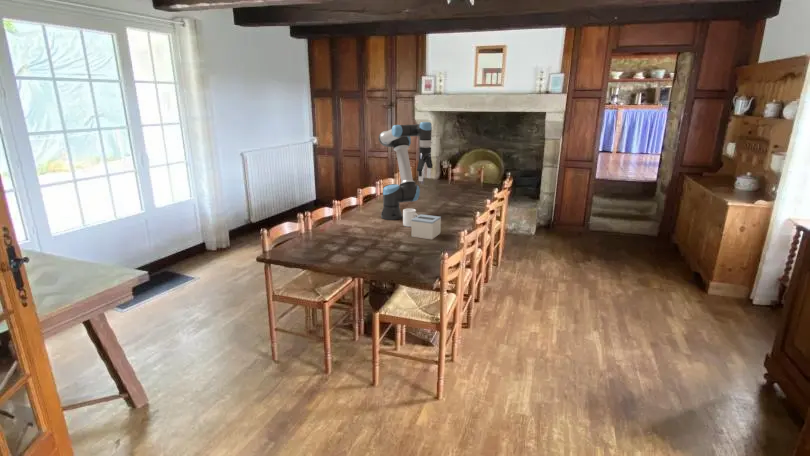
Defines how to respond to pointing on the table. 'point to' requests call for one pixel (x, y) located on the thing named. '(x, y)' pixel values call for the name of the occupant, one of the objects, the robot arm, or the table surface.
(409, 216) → the mug
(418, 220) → the coin box
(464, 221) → the table surface
